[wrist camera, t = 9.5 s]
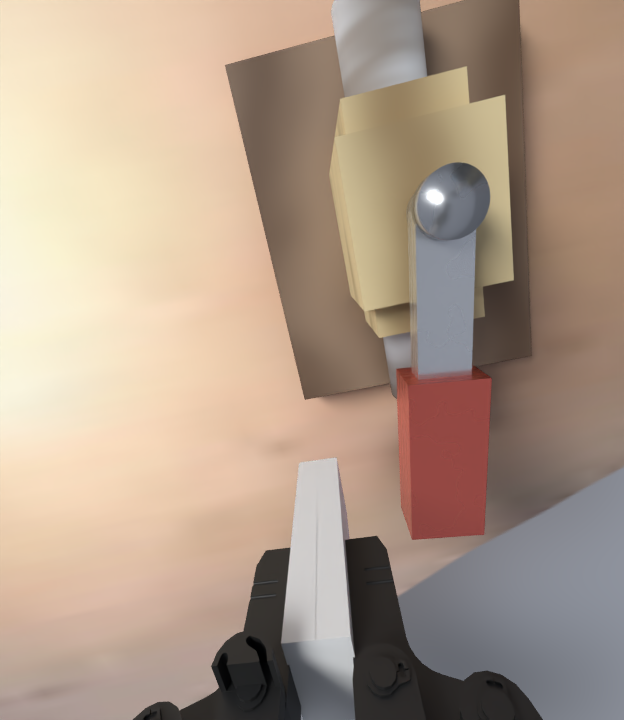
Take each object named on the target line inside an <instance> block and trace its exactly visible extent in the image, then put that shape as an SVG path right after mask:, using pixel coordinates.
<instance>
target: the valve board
mask: <svg viewBox="0 0 624 720" xmlns="http://www.w3.org/2000/svg"><path fill="white" fill-rule="evenodd" d="M331 15H332V21H333V27H334V34H335V35H334V36H331V37H327V38H323V39H320V40H316V41H312V42H309V43H305V44H301V45H298V46H294V47H290V48H287V49H283V50H279V51H275V52H272V53H268V54H264V55H261V56H257V57H253V58H250V59H246V60H242V61H239V62H235V63H231V64H228V65H225V67H226V71H227V76H228V80H229V84H230V88H231V92H232V96H233V101H234V105H235V109H236V113H237V117H238V122H239V126H240V130H241V134H242V138H243V143H244V147H245V151H246V155H247V159H248V164H249V168H250V172H251V176H252V180H253V184H254V189H255V193H256V197H257V201H258V205H259V210H260V214H261V218H262V222H263V226H264V231H265V235H266V239H267V243H268V247H269V252H270V256H271V260H272V264H273V268H274V272H275V277H276V281H277V285H278V289H279V293H280V298H281V302H282V306H283V310H284V314H285V319H286V323H287V327H288V331H289V335H290V340H291V344H292V348H293V352H294V356H295V360H296V365H297V369H298V373H299V377H300V381H301V386H302V390H303V394H304V398H305V400H306V399H311V398H316V397H321V396H326V395H332V394H337V393H342V392H347V391H352V390H357V389H363V388H368V387H373V386H378V385H383V384H388V383H390V384H391V390H392V395H393V396H394V397H395V398H396V399H397V378H396V369H398V368H409V367H411V340H410V297H409V253H408V222H407V218H406V210H407V205H408V203H409V200H410V199H411V197H412V196H413V194H414V193H415V191H416V189H417V188H418V186H419V185H420V183H421V182H422V181H423V180H424V179H425V178H426V177H427V176H429V175H430V174H431V173H433V172H434V171H436V170H437V169H439V168H440V167H442V166H444V165H447V164H450V163H455V162H461V163H467V164H470V165H472V166H474V167H476V168H477V169H478V170H480V171H481V172H482V174H483V175H484V176H485V178H486V180H487V182H488V185H489V188H490V205H489V209H488V212H487V214H486V216H485V218H484V220H483V222H482V223H481V224H480V225H479V227H478V228H477V229H476V248H475V282H474V315H473V348H472V365H474V366H475V367H476V366H481V365H486V364H492V363H497V362H502V361H507V360H512V359H517V358H523V357H528V356H532V355H531V326H530V298H529V269H528V240H527V211H526V183H525V154H524V125H523V96H522V67H521V39H520V10H519V0H463V1H460V2H456V3H452V4H449V5H445V6H441V7H438V8H434V9H430V10H427V11H423V12H421V9H420V0H334V2H333V5H332V10H331Z"/></svg>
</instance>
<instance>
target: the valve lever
mask: <svg viewBox="0 0 624 720" xmlns="http://www.w3.org/2000/svg"><path fill="white" fill-rule="evenodd" d="M489 205H490V188H489V185H488V182H487V180H486V178H485V176H484V175H483V174H482V172H481V171H480V170H478V169H477V168H476V167H474V166H472V165H470V164H467V163H461V162H455V163H450V164H447V165H444V166H442V167H440V168H439V169H437V170H436V171H434V172H433V173H431V174H430V175H429V176H427V177H426V178H425V179H424V180H423V181H422V182H421V183H420V185H419V186H418V188H417V189H416V191H415V193H414V194H413V196H412V197H411V199H410V200H409V203H408V205H407V210H406V218H407V222H408V253H409V297H410V340H411V367H409V368H398V369H396V378H397V406H398V434H399V461H400V489H401V508H402V511H403V514H404V517H405V520H406V523H407V526H408V529H409V532H410V535H411V538H412V540H416V539H430V538H443V537H457V536H471V535H484V528H485V508H486V487H487V466H488V445H489V424H490V403H491V382H492V378H491V377H489V376H488V375H487V374H485V373H484V372H482V371H481V370H479V369H478V368H476V367H475V366H474V365H472V348H473V315H474V282H475V248H476V229H477V228H478V227H479V225H480V224H481V223H482V222H483V220H484V218H485V216H486V214H487V212H488V209H489Z"/></svg>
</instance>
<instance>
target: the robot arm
mask: <svg viewBox="0 0 624 720" xmlns="http://www.w3.org/2000/svg"><path fill="white" fill-rule="evenodd" d="M253 583H254V585H253V587H252V592H251V600H250V602H249V607H248V612H247V617H246V622H245V626H244V631H243V632H240V633H237V634H235V635H234V636H233V637H231V638H230V639H229V640H227V641H226V642H225V643H224V644H223V646H222V647H221V648H220V650H219V651H218V652H217V654H216V656H215V659H214V661H213V663H212V666H211V667H212V670H213V672H214V675H215V677H216V680H217V683H218V685H219V688H218V689H217V690H216V691H215V692H214V693H212V694H211V695H209V696H207V697H206V698H204V699H202V700H200V701H198V702H196V703H194V704H192V705H190V706H188V707H186V708H184V709H182V710H180V711H179V709H178V707H177V706H175V705H174V704H172V703H170V702H157V703H155V704H153V705H151V706H149V707H147V708H145V709H144V710H143V711H142V712H141V713H140V714H139V715H138V716H136V717H135V718H134V719H133V720H301V714H302V717H303V720H543V719H542V718H541V717H540V715H539V713H538V712H537V710H536V709H535V708H534V706H533V705H532V703H531V702H530V700H529V699H528V698H527V696H526V695H525V694H524V693H523V692H522V691H521V690H520V689H519V687H518V686H517V685H516V684H515V683H513V682H511V681H510V680H509V679H507V678H506V677H504V676H503V675H500V674H497V673H493V672H489V671H482V672H475V673H473V674H472V675H470V676H469V677H468V678H466V679H465V680H464V681H462V680H459V679H456V678H452V677H448V676H445V675H442V674H440V673H437V672H435V671H432V670H431V669H429V668H428V667H427V666H425V665H424V664H422V663H421V661H420V660H419V659H418V658H417V657H416V656H415V655H414V653H413V651H412V650H411V648H410V646H409V644H408V641H407V638H406V634H405V630H404V625H403V621H402V616H401V612H400V607H399V603H398V598H397V594H396V589H395V585H394V580H393V576H392V571H391V567H390V562H389V558H388V553H387V549H386V548H385V546H384V545H383V544H382V542H381V541H380V540H379V538H378V537H377V536H372V537H364V538H356V539H349V530H348V520H347V512H346V506H345V501H344V495H343V490H342V484H341V479H340V473H339V468H338V462H337V457H336V458H329V459H322V460H315V461H308V462H301V463H299V469H298V479H297V489H296V499H295V509H294V519H293V529H292V539H291V548H283V549H275V550H267V551H266V552H265V553H264V555H263V556H262V558H261V560H260V561H259V563H258V565H257V567H256V572H255V577H254V582H253Z"/></svg>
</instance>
